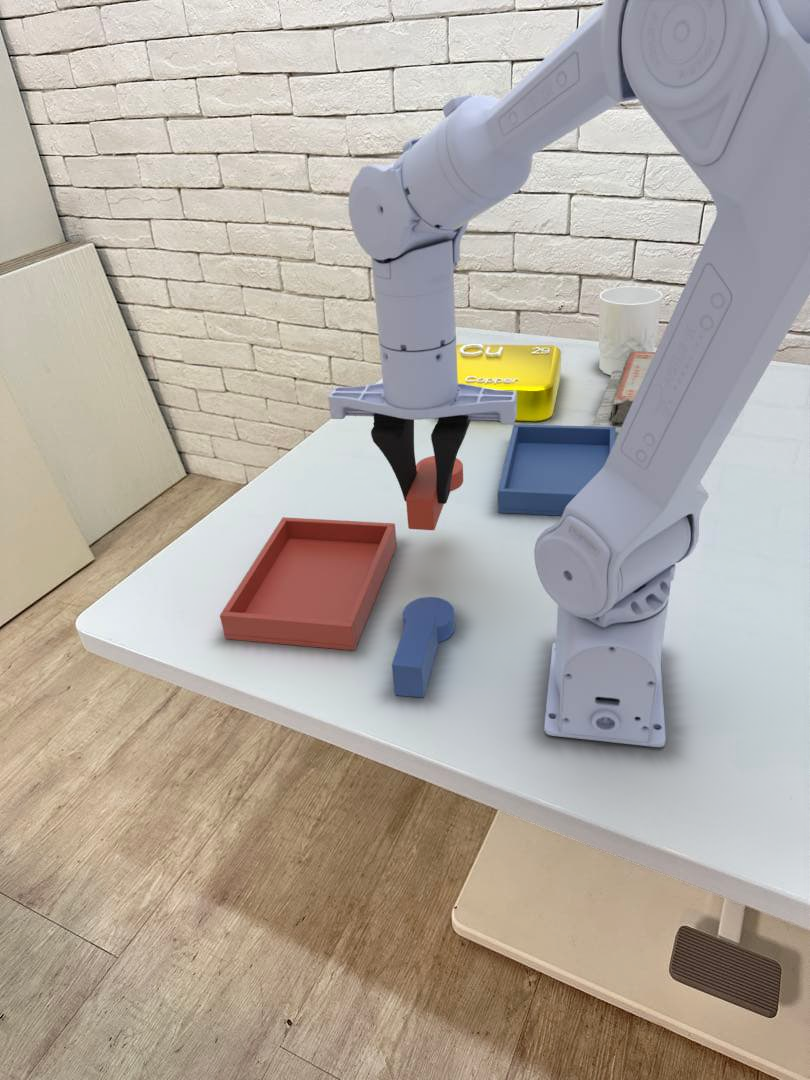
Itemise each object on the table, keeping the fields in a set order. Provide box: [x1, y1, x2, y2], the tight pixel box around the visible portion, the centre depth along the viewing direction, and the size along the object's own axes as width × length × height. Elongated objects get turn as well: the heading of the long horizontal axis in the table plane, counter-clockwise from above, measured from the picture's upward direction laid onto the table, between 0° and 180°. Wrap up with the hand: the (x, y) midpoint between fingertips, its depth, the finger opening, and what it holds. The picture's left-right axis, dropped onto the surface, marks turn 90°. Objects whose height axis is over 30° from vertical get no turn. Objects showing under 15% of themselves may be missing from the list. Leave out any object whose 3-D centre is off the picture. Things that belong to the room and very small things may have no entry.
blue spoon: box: [391, 596, 456, 699], centre depth 62 cm, size 10×4×3 cm, turn 168°
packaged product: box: [592, 351, 656, 438], centre depth 95 cm, size 18×5×10 cm
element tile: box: [456, 343, 562, 422], centre depth 102 cm, size 15×15×5 cm
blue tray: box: [497, 423, 616, 517], centre depth 84 cm, size 15×11×2 cm
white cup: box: [598, 285, 664, 376], centre depth 105 cm, size 8×8×10 cm
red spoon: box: [405, 455, 464, 531], centre depth 68 cm, size 10×4×3 cm, turn 167°
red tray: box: [219, 516, 398, 651], centre depth 70 cm, size 15×11×2 cm
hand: (427, 496), depth 66 cm, fingers closed on red spoon, 2 cm apart
